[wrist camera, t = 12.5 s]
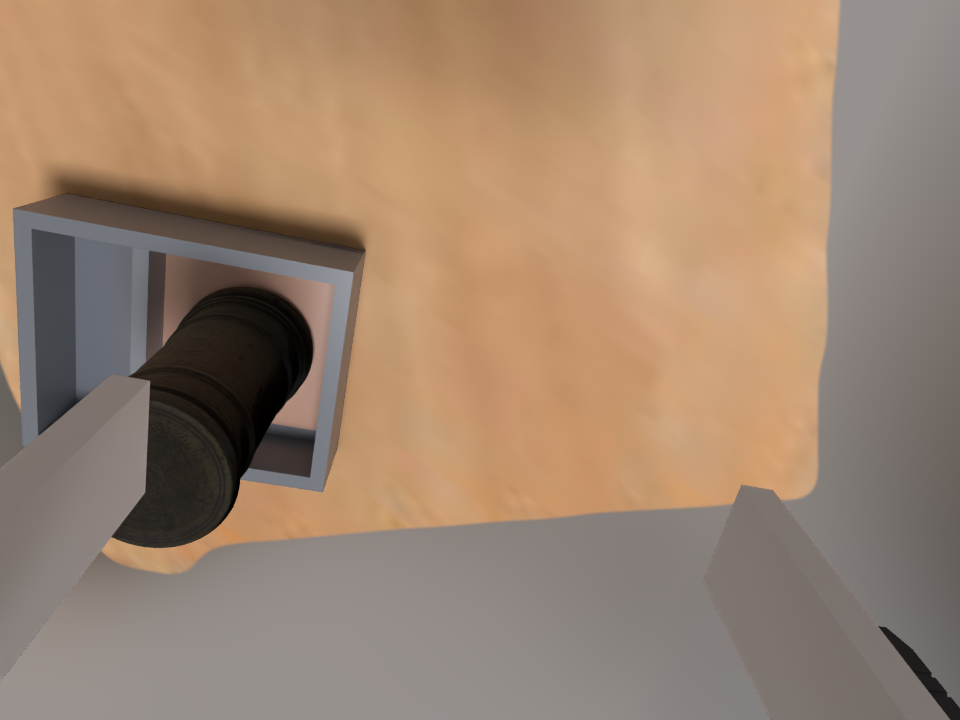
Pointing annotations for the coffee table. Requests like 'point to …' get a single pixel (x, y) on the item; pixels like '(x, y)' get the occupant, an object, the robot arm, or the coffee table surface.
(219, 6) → the coffee table surface
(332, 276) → the walled box
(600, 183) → the coffee table surface
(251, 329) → the container
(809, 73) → the coffee table surface
